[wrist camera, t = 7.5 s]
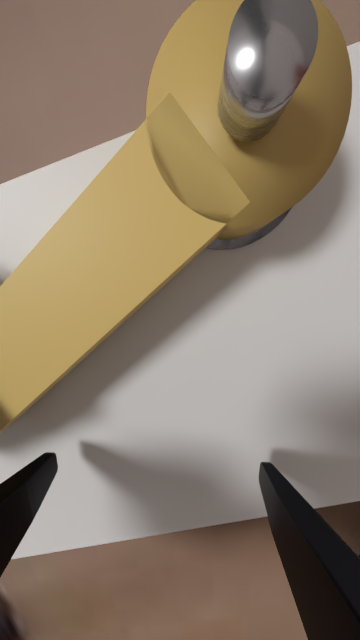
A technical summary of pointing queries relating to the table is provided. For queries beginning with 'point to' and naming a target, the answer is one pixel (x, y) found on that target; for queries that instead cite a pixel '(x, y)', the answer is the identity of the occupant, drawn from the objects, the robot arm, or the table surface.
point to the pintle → (263, 75)
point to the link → (165, 200)
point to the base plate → (201, 371)
